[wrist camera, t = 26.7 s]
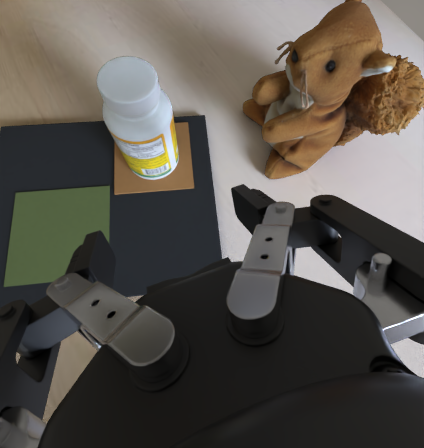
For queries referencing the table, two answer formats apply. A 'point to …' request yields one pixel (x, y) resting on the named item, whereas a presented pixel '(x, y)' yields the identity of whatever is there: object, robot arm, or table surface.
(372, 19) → the stuffed squirrel
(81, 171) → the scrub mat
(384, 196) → the table surface
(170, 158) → the supplement bottle
